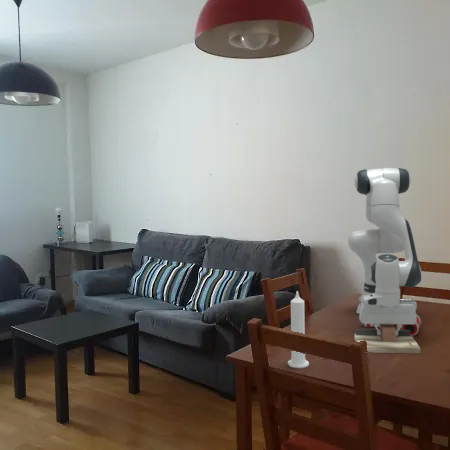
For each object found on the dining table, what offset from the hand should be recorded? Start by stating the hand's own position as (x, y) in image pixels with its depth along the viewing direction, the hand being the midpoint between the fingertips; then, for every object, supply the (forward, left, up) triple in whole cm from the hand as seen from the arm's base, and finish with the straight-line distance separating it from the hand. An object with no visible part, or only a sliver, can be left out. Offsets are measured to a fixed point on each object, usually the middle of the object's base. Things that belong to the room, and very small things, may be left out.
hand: (387, 335), depth 185 cm
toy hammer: (-18, +7, -4) cm, 20 cm away
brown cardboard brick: (0, 0, -1) cm, 1 cm away
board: (+2, -1, -3) cm, 4 cm away
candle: (+24, -33, -4) cm, 41 cm away
